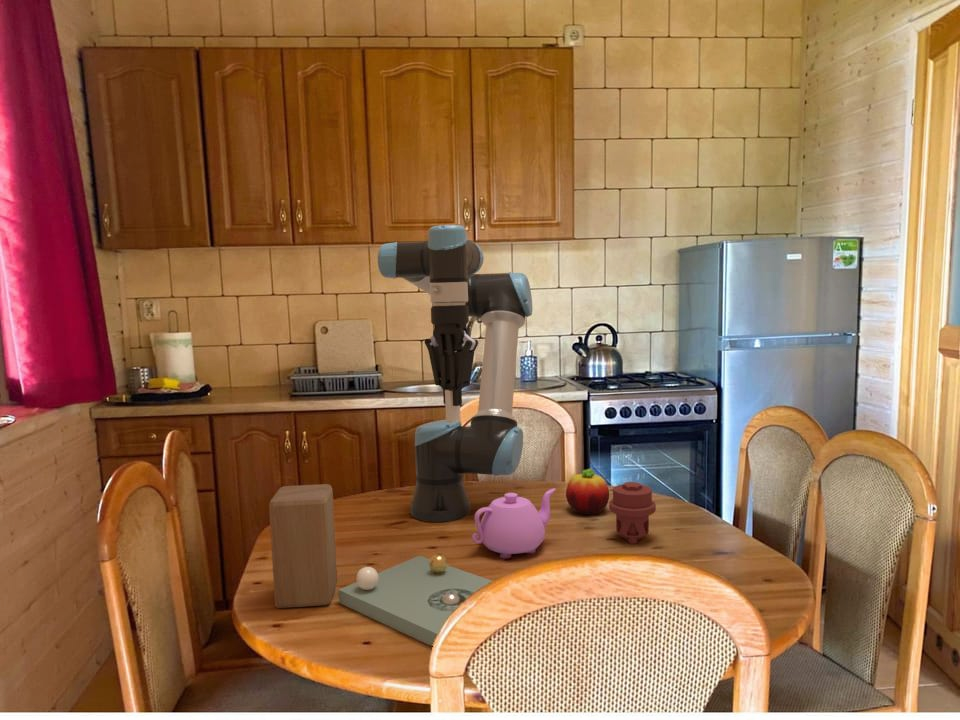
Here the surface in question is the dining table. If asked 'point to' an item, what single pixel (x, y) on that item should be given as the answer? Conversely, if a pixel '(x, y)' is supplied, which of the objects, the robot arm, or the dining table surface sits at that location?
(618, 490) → the mechanical component
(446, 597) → the steel ball
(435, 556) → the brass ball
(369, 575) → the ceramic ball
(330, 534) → the wooden block
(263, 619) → the dining table surface
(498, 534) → the teapot
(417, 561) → the board
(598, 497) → the fruit
